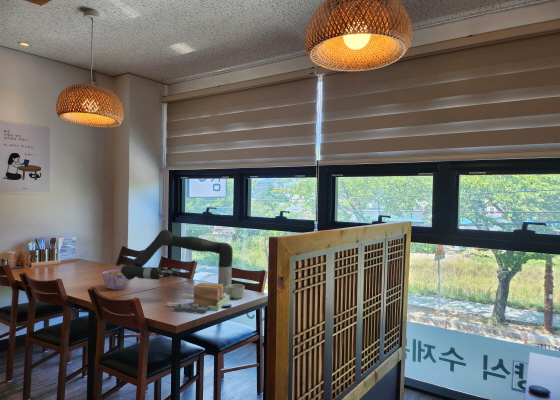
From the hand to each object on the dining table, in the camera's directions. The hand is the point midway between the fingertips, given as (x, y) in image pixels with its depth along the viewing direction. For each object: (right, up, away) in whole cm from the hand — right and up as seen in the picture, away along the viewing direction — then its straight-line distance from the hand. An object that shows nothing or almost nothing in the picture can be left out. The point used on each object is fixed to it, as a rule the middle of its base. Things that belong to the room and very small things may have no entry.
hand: (178, 274), depth 240 cm
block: (+20, -18, -4) cm, 27 cm away
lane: (+13, -17, -6) cm, 23 cm away
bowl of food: (-50, -16, +29) cm, 60 cm away
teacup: (+33, -18, +13) cm, 40 cm away
